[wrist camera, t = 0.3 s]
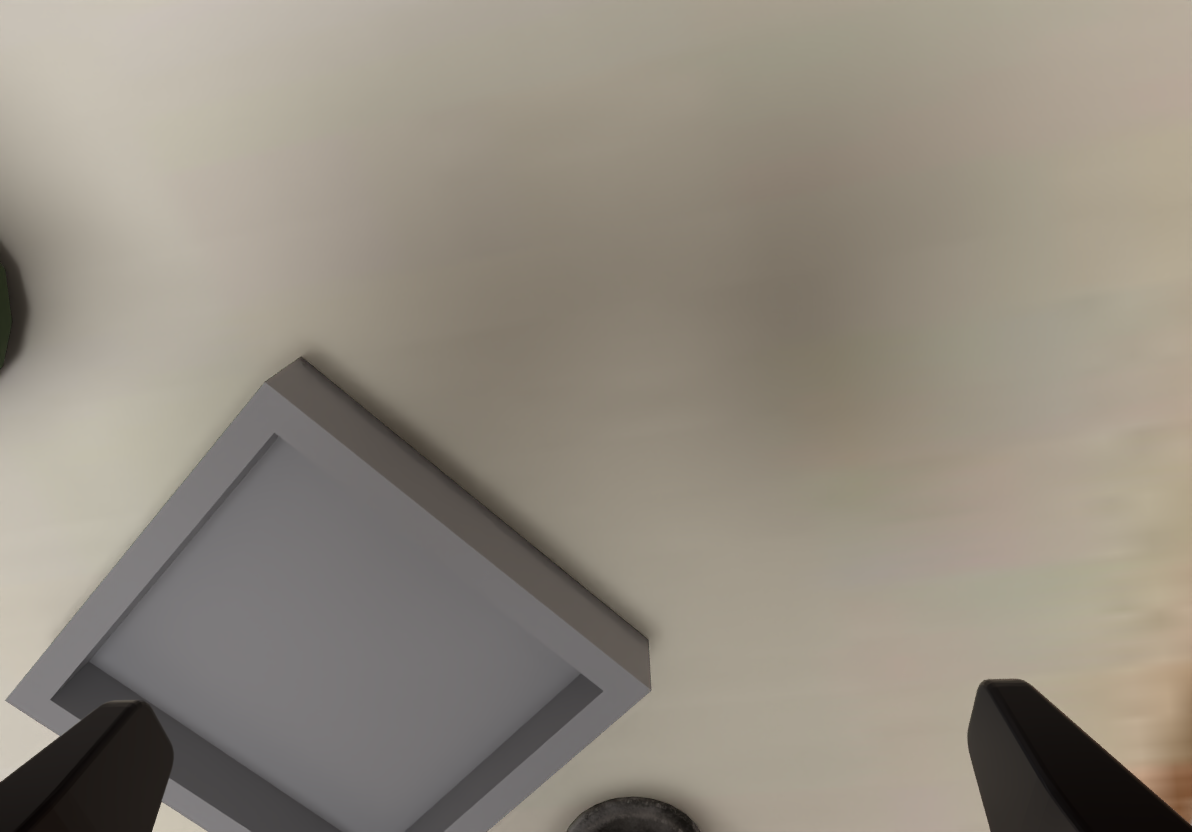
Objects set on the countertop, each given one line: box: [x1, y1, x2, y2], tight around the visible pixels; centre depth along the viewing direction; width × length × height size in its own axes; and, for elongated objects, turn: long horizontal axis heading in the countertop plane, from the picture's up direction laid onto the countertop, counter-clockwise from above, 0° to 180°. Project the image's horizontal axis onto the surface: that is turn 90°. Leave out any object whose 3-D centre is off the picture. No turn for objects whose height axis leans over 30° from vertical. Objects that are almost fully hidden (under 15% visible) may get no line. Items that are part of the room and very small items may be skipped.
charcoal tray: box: [5, 357, 651, 832], centre depth 25 cm, size 14×14×2 cm
